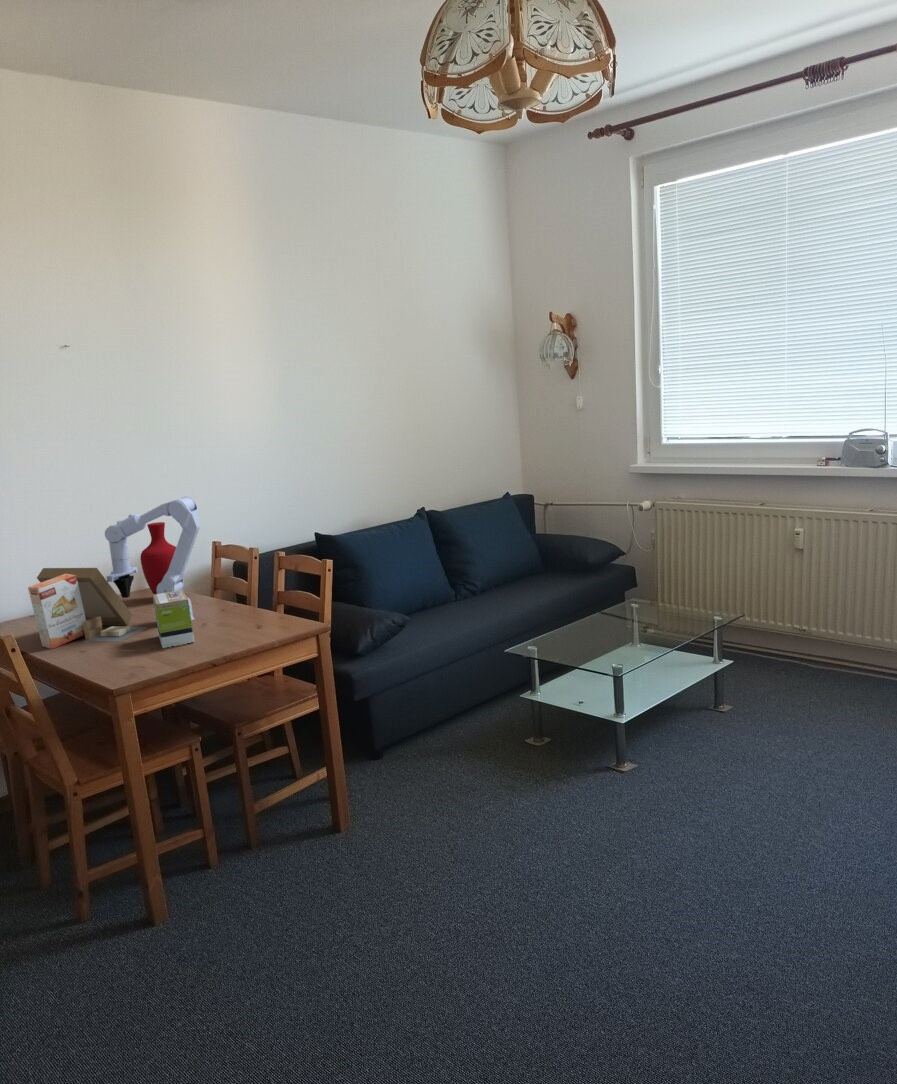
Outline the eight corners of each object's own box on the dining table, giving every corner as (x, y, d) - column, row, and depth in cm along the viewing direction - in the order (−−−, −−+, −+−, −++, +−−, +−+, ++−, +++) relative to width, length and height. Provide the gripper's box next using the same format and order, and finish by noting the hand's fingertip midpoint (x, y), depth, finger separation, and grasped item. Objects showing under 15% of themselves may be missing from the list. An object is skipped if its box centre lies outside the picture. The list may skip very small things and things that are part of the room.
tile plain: (99, 633, 286) (96, 616, 285) (103, 633, 286) (100, 616, 285) (85, 639, 280) (82, 622, 279) (89, 639, 279) (87, 622, 278)
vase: (138, 604, 326) (128, 527, 321) (158, 594, 340) (148, 520, 335) (174, 603, 324) (164, 525, 318) (192, 593, 338) (182, 519, 332)
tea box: (157, 637, 278) (151, 593, 275) (189, 632, 281) (183, 588, 279) (161, 649, 264) (155, 603, 261) (195, 643, 268) (189, 597, 265)
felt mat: (148, 628, 290) (148, 627, 290) (119, 642, 275) (119, 641, 275) (112, 628, 294) (112, 627, 293) (82, 642, 278) (82, 641, 278)
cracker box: (53, 650, 271) (37, 589, 265) (41, 647, 274) (26, 587, 268) (90, 633, 283) (76, 574, 276) (79, 630, 286) (65, 572, 280)
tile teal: (129, 626, 286) (118, 631, 280) (130, 631, 286) (119, 636, 280) (111, 626, 288) (100, 631, 282) (112, 631, 288) (101, 636, 282)
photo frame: (128, 626, 295) (84, 593, 274) (77, 625, 301) (30, 592, 281) (142, 588, 302) (100, 553, 281) (91, 587, 308) (46, 553, 288)
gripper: (123, 554, 300) (128, 592, 302) (96, 563, 286) (102, 602, 289) (140, 554, 298) (145, 591, 301) (114, 563, 284) (120, 602, 287)
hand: (125, 597), depth 294 cm, fingers closed
